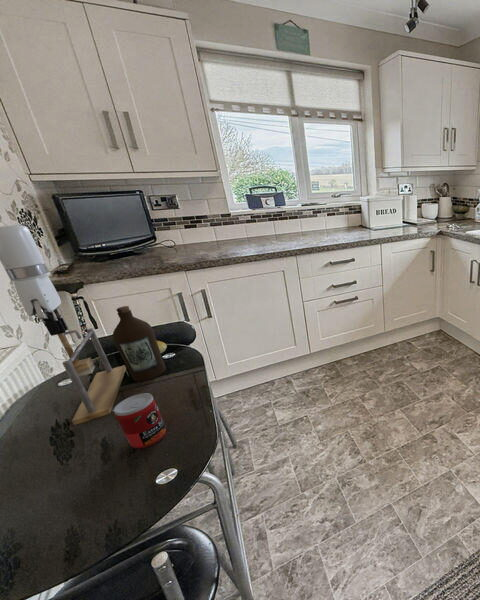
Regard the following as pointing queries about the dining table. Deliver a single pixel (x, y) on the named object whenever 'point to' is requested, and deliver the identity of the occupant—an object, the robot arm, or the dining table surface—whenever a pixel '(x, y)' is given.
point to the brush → (80, 366)
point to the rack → (95, 384)
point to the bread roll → (161, 346)
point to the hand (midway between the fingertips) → (59, 332)
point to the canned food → (140, 420)
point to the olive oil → (138, 346)
